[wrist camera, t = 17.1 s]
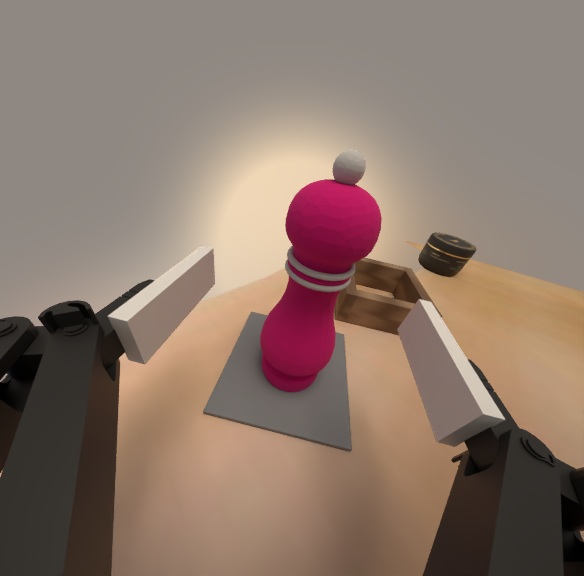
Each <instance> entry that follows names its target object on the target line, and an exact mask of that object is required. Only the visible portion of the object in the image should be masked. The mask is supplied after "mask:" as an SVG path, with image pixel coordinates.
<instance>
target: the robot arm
mask: <svg viewBox="0 0 584 576" xmlns="http://www.w3.org/2000/svg"><path fill="white" fill-rule="evenodd" d="M214 284H215V275H214V255H213V248H210V247H205V246H200V247H199V248H198V249H196V250H195V251H194V252H192V253H191V254H190V255H188V256H187V257H186V258H184V259H183V260H182V261H180V262H179V263H178V264H177V265H175V266H174V267H172V268H171V269H170V270H168V271H167V272H166V273H164V274H163V275H162V276H160V277H159V278H158V279H157V280H155V281H154V280H147V281H144V282H142V283H139V284H137V285H136V286H134V287H133V288H132V289H130V290H129V292H126V293H124V294H123V295H122V297H119V298H117V299H116V300H115V301H113V302H112V303H110V304H109V305H107V306H106V307H105V308H103V309H102V310H100V311H99V312H97V313H96V314H94V312H93V310H92V308H91V306H90V304H88V303H87V302H84V301H67V302H63V303H59V304H57V305H54V306H52V307H49V308H48V309H46V310H45V311H43V312H42V313H41V314H40V315H39V316H38V319H39V320H40V321H41V323H42V324H43V325H44V326H34V325H33V323H32V322H31V321H30V320H29V319H28V318H25V317H8V318H4V319H0V380H1V379H2V377H3V376H4V375H5V374H6V373H7V374H8V375H7V376H6V378H5V379H4V380H3V381H1V382H0V473H1V471H2V470H3V471H2V474H1V477H0V576H111V566H112V542H113V519H114V495H115V472H116V448H117V424H118V401H119V377H120V361H119V357H120V356H121V355H122V354H123V353H124V352H125V353H126V355H127V357H128V359H129V360H130V361H134V362H138V363H142V364H146V363H147V362H148V360H149V359H150V358H151V357H152V356H153V355H154V353H155V352H156V351H157V350H158V349H159V348H160V347H161V345H162V344H163V343H164V342H165V341H166V340H167V338H168V337H169V336H170V335H171V334H172V333H173V332H174V330H175V329H176V328H177V327H178V326H179V325H180V323H181V322H182V321H183V320H184V319H185V318H186V316H187V315H188V314H189V313H190V312H191V311H192V310H193V308H194V307H195V306H196V305H197V304H198V303H199V301H200V300H201V299H202V298H203V297H204V296H205V295H206V293H207V292H208V291H209V290H210V288H212V286H213V285H214ZM397 330H398V333H399V336H400V339H401V341H402V344H403V347H404V350H405V353H406V356H407V359H408V361H409V364H410V367H411V370H412V373H413V376H414V379H415V381H416V384H417V387H418V390H419V393H420V396H421V399H422V402H423V404H424V407H425V410H426V413H427V416H428V419H429V422H430V424H431V427H432V430H433V433H434V436H435V439H436V442H439V443H442V444H446V445H450V446H454V447H455V446H457V445H459V444H461V443H462V442H464V441H465V444H466V446H467V448H468V450H467V451H465V452H463V453H461V454H459V455H457V456H455V457H453V458H452V460H451V461H452V462H453V463H454V462H457V461H459V460H461V462H460V465H459V466H458V467H459V468H458V471H457V474H456V477H455V480H454V483H453V486H452V489H451V492H450V495H449V498H448V501H447V504H446V507H445V510H444V513H443V516H442V519H441V522H440V525H439V528H438V531H437V534H436V537H435V540H434V543H433V546H432V549H431V552H430V555H429V558H428V561H427V564H426V567H425V570H424V573H423V576H584V541H583V539H582V537H581V534H580V531H584V467H583V468H579V469H575V468H573V467H571V466H569V465H568V464H566V463H564V462H562V461H560V460H558V459H556V458H555V457H554V455H553V454H552V452H551V451H550V450H549V449H548V448H547V447H546V446H545V444H544V443H542V442H541V441H540V440H539V439H538V438H537V437H535V436H534V435H532V434H531V433H529V432H528V431H526V430H523V429H520V428H519V427H518V426H517V424H516V423H515V421H514V420H513V418H512V417H511V415H510V414H509V412H508V411H507V409H506V408H505V406H504V404H503V403H502V401H501V400H500V398H499V397H498V395H497V394H496V392H494V389H493V388H492V386H491V385H490V383H488V380H487V379H486V377H485V376H484V374H483V373H482V371H481V370H480V369H479V368H478V367H477V366H476V365H475V364H474V363H473V362H472V361H471V360H469V359H467V358H466V356H465V355H464V353H463V352H462V350H461V348H460V347H459V345H458V344H457V342H456V340H455V339H454V337H453V336H452V334H451V332H450V331H449V329H448V328H447V326H446V325H445V323H444V321H443V320H442V318H441V317H440V315H439V313H438V312H437V310H436V309H435V307H434V305H433V304H432V302H429V301H425V300H421V299H419V300H418V301H417V302H416V304H415V305H414V307H413V308H412V309H411V311H410V312H409V314H408V315H407V316H406V318H405V319H404V321H403V322H402V323H401V325H400V326H399V328H398V329H397Z"/></svg>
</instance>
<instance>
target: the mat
mask: <svg viewBox="0 0 584 576" xmlns="http://www.w3.org/2000/svg"><path fill="white" fill-rule="evenodd" d="M267 317H268V316H267V315H263V314H259V313H255V312H251V313H250V315H249V318H248V320H247V322H246V324H245V326H244V328H243V330H242V332H241V334H240V336H239V338H238V340H237V342H236V345H235V347H234V349H233V351H232V353H231V355H230V357H229V359H228V361H227V363H226V365H225V367H224V369H223V372H222V374H221V376H220V378H219V380H218V382H217V384H216V386H215V388H214V390H213V392H212V394H211V396H210V399H209V401H208V403H207V405H206V407H205V409H204V411H203V413H204V414H208V415H212V416H215V417H219V418H223V419H227V420H231V421H235V422H239V423H242V424H246V425H250V426H254V427H258V428H262V429H266V430H269V431H273V432H277V433H281V434H285V435H289V436H293V437H297V438H300V439H304V440H308V441H312V442H316V443H320V444H324V445H327V446H331V447H335V448H339V449H343V450H347V451H351V450H352V445H351V431H350V416H349V401H348V386H347V372H346V357H345V342H344V334H340V333H336V332H335V334H336V338H335V348H334V351H333V354H332V357H331V359H330V361H329V363H328V364H327V365H326V366H325V367H324V368H323V369H322V370H321V371H319V372H318V374H317V377H316V379H315V380H314V382H313V383H312V384H311V385H310V386H309V387H308V388H306V389H304V390H301V391H297V392H287V391H283V390H281V389H278V388H277V387H275V386H273V385H272V384H271V383H270V382H269V381H268V380H267V378H266V377H265V375H264V373H263V370H262V364H261V363H262V355H263V352H262V349H261V344H260V336H261V331H262V328H263V324H264V322H265V320H266V318H267Z"/></svg>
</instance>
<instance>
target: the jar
mask: <svg viewBox="0 0 584 576" xmlns="http://www.w3.org/2000/svg"><path fill="white" fill-rule="evenodd" d="M475 251H476V247H475V246H474V245H472V244H471V243H469V242H467V241H465V240H462V239H460V238H457V237H454V236H451V235H447V234H443V233H433V234H432V235H431V236H430V238H429V239H428V241H427V243H426V245H425V246H424V248H423V250H422V251H421V253H420V255H419V263H420V264H421V265H422V266H423V267H424V268H426V269H428V270H429V271H431V272H434V273H436V274H439V275H443V276H453V275H455V274H457V273H458V272H459V271H460V270H461V269H462V268H463V267H464V265H465V264H466V263H467V262H468V260H469V259H471V257H472V256H473V254H474V253H475Z"/></svg>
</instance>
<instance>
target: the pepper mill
mask: <svg viewBox="0 0 584 576" xmlns="http://www.w3.org/2000/svg"><path fill="white" fill-rule="evenodd" d="M364 172H365V160H364V158H363V156H362V154H361V153H360V152H358V151H356V150H346V151H344V152H342V153H341V154H340V155H339V156H338V157H337V158H336V160H335V162H334V165H333V176H334V178H335V180H320V181H316V182H313V183H310V184H309V185H307V186H305V187H304V188H302V189H301V190H300V191H299V192H298V193H297V194H296V195H295V197H294V199H293V200H292V202H291V204H290V206H289V210H288V213H287V217H286V232H287V235H288V238H289V240H290V241H291V243H292V245H293V246H292V247H291V248H290V249H289V250H288V253H287V256H288V259H287V261H286V264H285V268H286V271H287V273H288V275H289V281H288V285H287V288H286V291H285V293H284V295H283V297H282V298H281V300H280V301H279V302H278V304H277V305H276V306H275V307H274V308H273V309H272V311H271V312H270V313H269V315H268V317H267V318H266V320H265V322H264V324H263V328H262V331H261V336H260V344H261V349H262V352H263V355H262V363H261V364H262V370H263V373H264V375H265V377H266V378H267V380H268V381H269V382H270V383H271V384H272V385H273V386H275V387H277V388H278V389H281V390H283V391H287V392H297V391H301V390H304V389H306V388H308V387H309V386H310V385H311V384H312V383H313V382H314V380H315V379H316V377H317V374H318V372H319V371H321V370H322V369H323V368H324V367H325V366H326V365H327V364H328V363H329V361H330V359H331V357H332V354H333V351H334V348H335V338H336V334H335V327H334V318H333V313H334V307H335V303H336V299H337V296H338V294H339V292H340V290H343V289H345V288H346V287H347V286H348V285H349V284H350V282H351V276H352V275H353V274H354V273H355V264H354V263H355V262H357V261H359V260H361V259H363V258H364V257H366V256H367V255H368V254H369V253H370V252H371V251H372V249H373V247H374V246H375V244H376V242H377V239H378V236H379V233H380V230H381V213H380V209H379V206H378V205H377V203H376V201H375V199H374V198H373V197H372V196H371V195H370V194H369V193H368V192H367V191H365V190H364V189H362V188H360V187H359V186H357V185H355V184H356V183H357V182H358V181H359V180H360V179H361V178H362V176H363V174H364Z"/></svg>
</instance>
